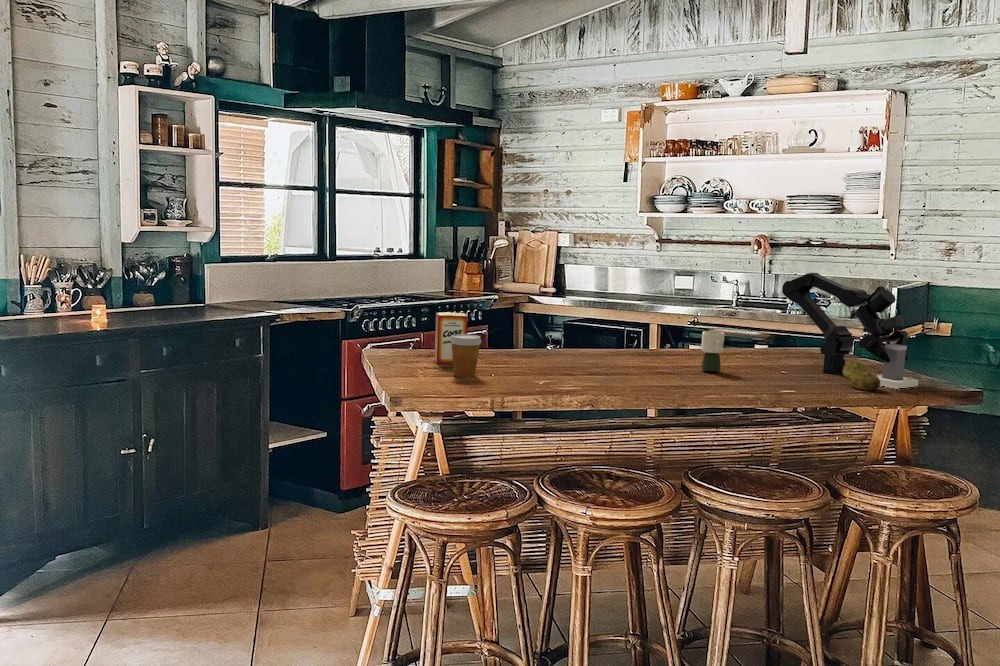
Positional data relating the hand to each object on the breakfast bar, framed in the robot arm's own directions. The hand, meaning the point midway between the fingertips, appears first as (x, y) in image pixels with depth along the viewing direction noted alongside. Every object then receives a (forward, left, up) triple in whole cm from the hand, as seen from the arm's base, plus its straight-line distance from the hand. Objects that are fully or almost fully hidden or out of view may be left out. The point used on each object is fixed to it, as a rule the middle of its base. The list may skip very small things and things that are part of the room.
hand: (898, 361), depth 310 cm
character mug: (-56, -12, -8) cm, 58 cm away
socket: (-1, +1, -8) cm, 8 cm away
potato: (-10, -11, -8) cm, 17 cm away
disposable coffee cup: (-119, -67, -8) cm, 137 cm away
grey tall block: (-1, +1, -7) cm, 8 cm away
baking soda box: (-133, -49, -8) cm, 142 cm away
